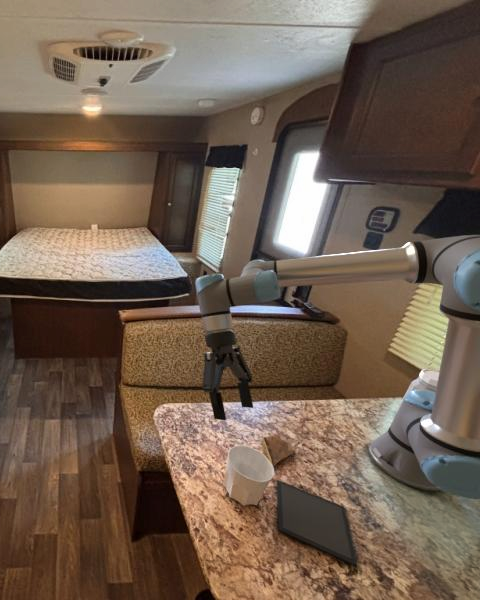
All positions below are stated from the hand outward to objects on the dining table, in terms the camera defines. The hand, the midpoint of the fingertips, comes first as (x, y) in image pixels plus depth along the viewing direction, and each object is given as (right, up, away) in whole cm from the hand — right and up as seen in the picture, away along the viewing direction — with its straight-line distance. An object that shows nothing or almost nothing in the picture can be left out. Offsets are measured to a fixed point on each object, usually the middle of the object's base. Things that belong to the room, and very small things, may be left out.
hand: (234, 413), depth 82 cm
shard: (+17, -15, +8) cm, 24 cm away
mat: (+14, -22, -8) cm, 27 cm away
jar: (+70, -11, +21) cm, 74 cm away
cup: (+1, -19, -2) cm, 19 cm away
